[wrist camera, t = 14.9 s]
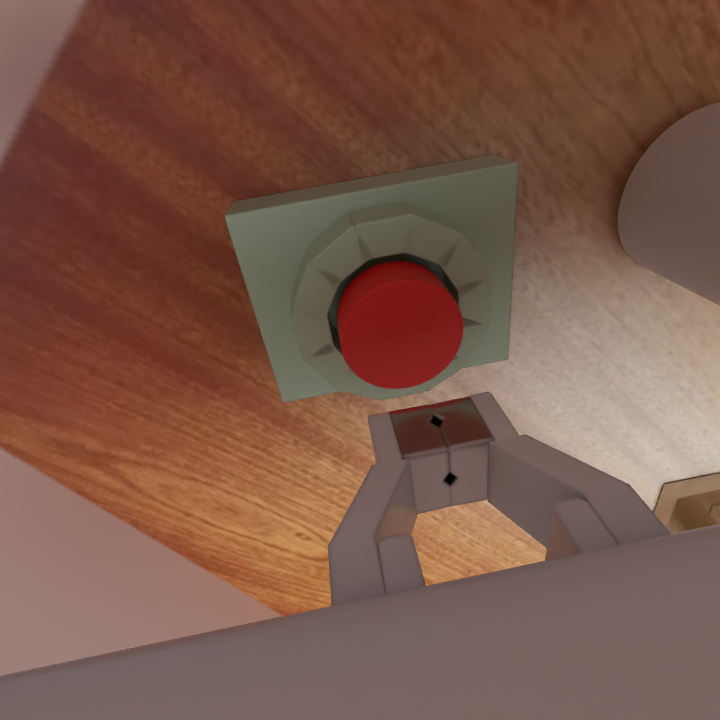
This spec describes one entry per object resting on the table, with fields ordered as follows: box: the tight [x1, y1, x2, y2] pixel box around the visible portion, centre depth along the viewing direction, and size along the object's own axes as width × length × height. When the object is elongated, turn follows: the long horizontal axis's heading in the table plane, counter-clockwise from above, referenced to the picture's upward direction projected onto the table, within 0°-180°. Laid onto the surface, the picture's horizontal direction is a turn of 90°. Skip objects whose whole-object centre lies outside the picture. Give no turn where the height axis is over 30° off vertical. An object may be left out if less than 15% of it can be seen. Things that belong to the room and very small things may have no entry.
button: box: [337, 261, 464, 389], centre depth 14 cm, size 4×4×2 cm
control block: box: [225, 154, 518, 402], centre depth 16 cm, size 10×8×4 cm
